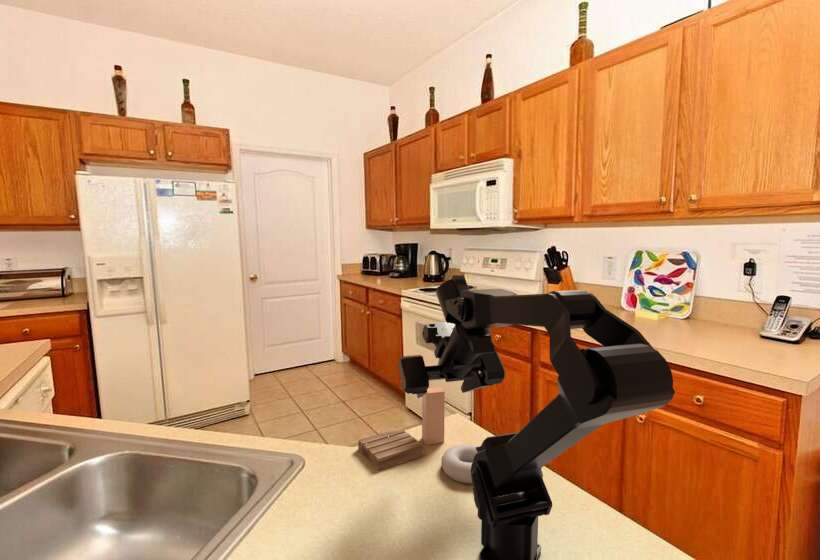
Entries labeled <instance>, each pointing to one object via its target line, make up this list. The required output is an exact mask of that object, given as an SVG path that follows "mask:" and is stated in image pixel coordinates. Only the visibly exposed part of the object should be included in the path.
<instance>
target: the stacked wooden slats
mask: <svg viewBox="0 0 820 560" xmlns="http://www.w3.org/2000/svg"><path fill="white" fill-rule="evenodd" d="M388 436H389V437H388ZM366 443H367V444H366ZM357 449H358V451H359V452H360V453H361V454H362V455H363V456H364V457H365V458H366V459H367V460H368V461H369V462H370V463H371V464H372V465H373V466H374V467H375V468H376V469H377V470H378V471H380V470H385V469H387V468H390V467H393V466H396V465H399V464H402V463H405V462H407V461H411V460H414V459H417V458H420V457H423V456H425V454H424V453H425V448H424V444H423V443H422V442H420V441H419V440H417V438H415V437H413V436H412V435H411V434H409V433H408V432H407V431H405V430H404V429H403V428H401V427H400V428H397V429H393V430H389V431H387V432H383V433H379V434H375V435H371V436H368V437H363V438H361V439H358V443H357Z"/></svg>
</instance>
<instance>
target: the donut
mask: <svg viewBox="0 0 820 560" xmlns="http://www.w3.org/2000/svg"><path fill="white" fill-rule="evenodd" d="M476 447H479V445H473V444H465V443H463V444H457V445H453V446H451V447H449V448H447V449H446V450H445V451H444V453H443V454H442V456H441V460H440V461H441V463H440V464H441V468H442V470H443V471H444V473H445V474H446V476H448V477H449V478H451V479H452V480H453V481H457V482H459V483H462V484H472V478H471V465H472V463H473V459H474V456H475V454H476V453H477V450H476Z"/></svg>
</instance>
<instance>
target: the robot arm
mask: <svg viewBox="0 0 820 560" xmlns="http://www.w3.org/2000/svg"><path fill="white" fill-rule="evenodd" d="M435 290H436V291H435V295H436V297H437V300H438V303H439V305H440V309H441V311H442V315H443V317H444V320H445V321H439V322H437V321H436V322H433V323H425V324H424V326H423V328H422V338H423V340H424V342H425V344H432V345H434V347H435V349H434V352H433V353H434V357H435V359H438V361H437V365H428V366H427V365H426V364H425V363H426V362H425V360H424V357H423V356H422V355H421V354H415V355H413V354H412V355H405V356H404V355H402V356H401V357H400V358H399V361H398V363H397V367H398V372H399V376H400V380H401V385H402V389H403V392H404V393H406V394H412V395H416V398H417V399H420V398H422V396H423V395H425V394H426V393H427V389H428V388H430V381H441V380H442V381H443V380H445V382H446V383H453V382H461V381H462V384H461V387H460V390H461V393H463V394H464V393H469V392H473V391H476V390H479V389H482V388H487V387H491V386H494V385H496V384H499V385H500V384H502V382H503V381H504V379H505V377H506V375H507V374H506V369H505V367H504V364H503V362H502V360H501V358H500V356H499V353H498V352H497V350H495V348H496V347H495V343H494V342H493V339H492V331H491V328H493V329H494V328H504V327H509V326H512V325H515V326H516V325H517V326H519V325H520V326H527V327H528V326H529V327H530V326H531V327H540V328H545V330H546V332H547V333H548V335H549V362H550V363H551V365H552V367H553V368H554V369H555V372H556V373H557V378H556V381H557V388H558V394H557V395H556V396H555V397H554V398H553V399H552V400H551V401H549V403H548V404H547V405H546V406H545V407H543V409H541V410H540V411H539V412H538V413H537V414H535V416H534V417H533V418H532V419H530V420H529V421H528V423H526V424H525V425H524V426H523V427H522V428H521V429H520V430H519V431H518V432H513V433H505V434H498V435H492V436H488V437H486V438H485V439H484V440H483V441H482V443H481V445H480V446H479V445H478V446H479V447H476V450H477V453H476V454H475V456H474V459H473V463H472V465H471V478H472V493H473V500H474V504H475V505H474V506H475V507H476V508H477V518H478V519H479V520H481V524H480V525H481V526H480V527H481V528H480V531H481V532H480V543H481V546H483V547H482V548H481V550H480V552H479V557H478V558H479V560H538V558H539V556H540V553H541V552H542V546H541V544H539V543H538V539H539V535H538V534H539V517H541V516H548V515H550V513H551V511H552V508H553V502H552V499H551V496H550V493H549V492H548V491H549V490H548V489H547V486H546V484H545V482H544V479H543V477H544V474H543V471H542V468H543V467H545V466H546V465H548V464H549V463H551V462H552V461H554V460H555V459H557V457H559V456H561V455H562V454H564V453H565V452H566V451H567V450H569V449H570V448H571V447H573V446H575V445H577V443H579V442H580V441H582V440H583V439H584V438H586V437H588V436H589V435H590V434H592V433H593V432H594V431H596V430H597V429H599V428H600V427H602V426H603V425H605V424H610V423H612V422H613V423H614V422H616V421H620V420H623V419H628V418H632V417H635V416H638V415H642V414H645V413H649V412H650V411H654V410H657V409H660V408H663V407H665V406H667V405H668V404H669V403H670V402H671V401H672V400H673V397H674V396H675V393H676V391H675V389H674V377H673V374H672V368H671V367H670V365H669V364H668V363H669V362H668V361H667V360H666V358H665V357H664V356H663V355H662V353H660V351H658V350H657V349H655V347H653V346H652V344H650V342H649V341H648V340H647V339H646V338H645V336H644V335H643V334H642V332H640V331H639V330H638V329H637V328H636V327H634V326H632V325H631V324H629V323H628V322H626V321H625V320H623V319H622V318H620V317H618V316H617V315H616V314H615V313H612V312H611V311H609V310H608V309H607V308H605V306H604V305H603V304H602V303H601V302H600V300H599V299H598V298H597V296H595V295H594V294H593V292H592V293H591V292H588V291H586V290H583V289H576V290H575V289H573V290H572V289H571V290H570V289H569V290H553V291H549V292H547V293H537V294H535V293H534V294H515V293H514V292H513V291H512V290H507V289H504V288H488V289H487V288H483V289H482V288H481V289H471V288H470V287H469V286H468V283H467V280H466V277H465V275H464V274H452V277H451V279H448V280H446V281H444V282H442V283H441V284H440V285H439V286H438V287H436V289H435ZM579 329H581V330H583V332H584V333H585V335H586V334H587V336H589V337H590V338H592V339H593V340H594V341H596V342H597V343H598V344H600V345H601V346H599V347H597V346H596V347H585V348H579V346H578V345H577V343H576V341H574V338H572V336H571V335H572V334H571V333H572V332H571V330H579Z"/></svg>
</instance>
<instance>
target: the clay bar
mask: <svg viewBox="0 0 820 560" xmlns="http://www.w3.org/2000/svg"><path fill="white" fill-rule="evenodd" d="M445 393H446V391H445V390H444V389H443V388H442V387H441V386H434V387H428V389H427V393H426V394H425V395H423V396H422V397H421V409H422V410H421V439H422V442H424V444H425V445H426V446H427V445H428V446H429V445H434V444H442V443H445V412H446V411H445V404H446V402H445V400H446V399H445V398H446V397H445V396H446V395H445Z"/></svg>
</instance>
